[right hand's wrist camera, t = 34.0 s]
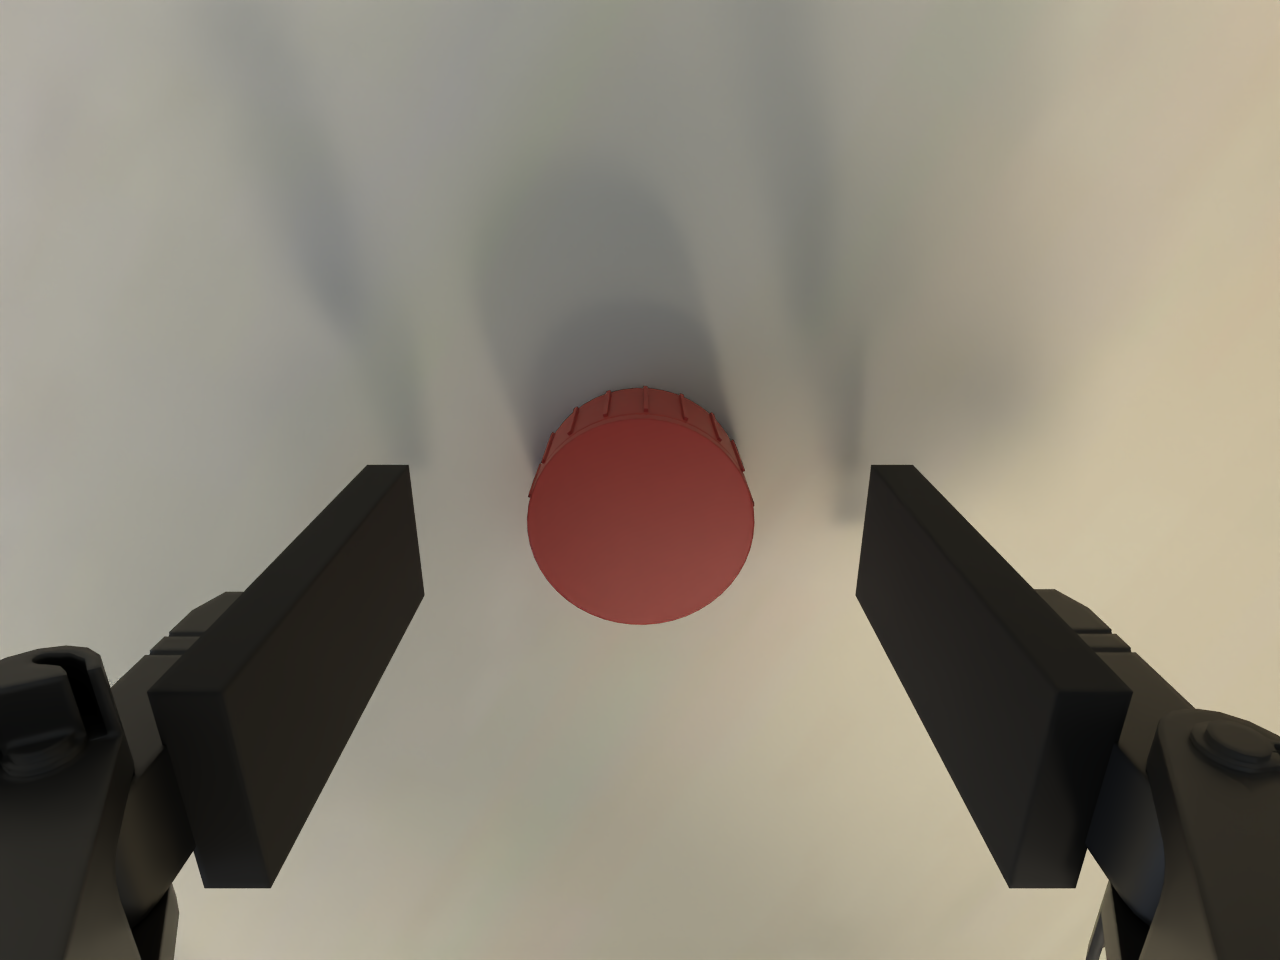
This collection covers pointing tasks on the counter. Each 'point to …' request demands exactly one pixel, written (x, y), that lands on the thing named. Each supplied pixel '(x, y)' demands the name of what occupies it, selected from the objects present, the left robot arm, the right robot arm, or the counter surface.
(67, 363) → the counter surface
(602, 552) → the cap
